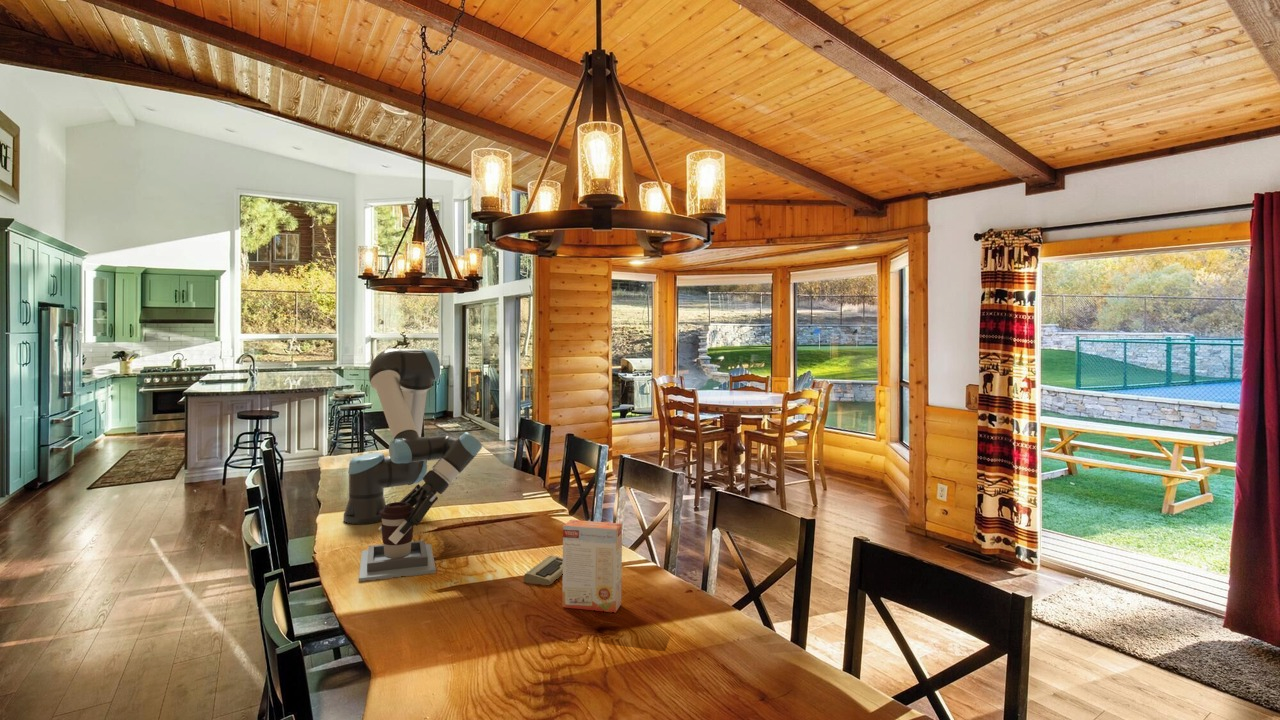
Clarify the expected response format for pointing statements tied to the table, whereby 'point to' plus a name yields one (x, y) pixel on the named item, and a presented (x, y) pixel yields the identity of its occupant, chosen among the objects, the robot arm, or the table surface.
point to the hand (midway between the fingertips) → (386, 536)
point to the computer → (545, 571)
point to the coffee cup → (390, 522)
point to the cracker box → (592, 565)
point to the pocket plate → (396, 562)
